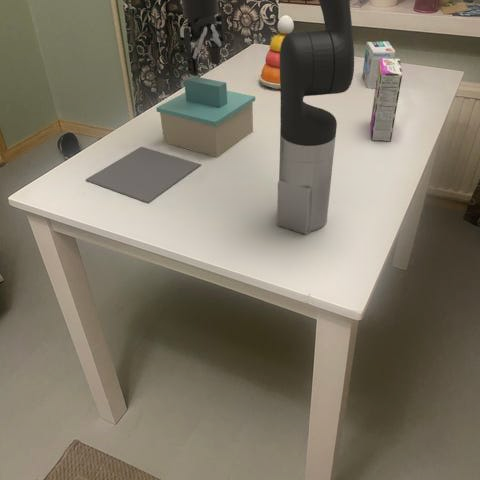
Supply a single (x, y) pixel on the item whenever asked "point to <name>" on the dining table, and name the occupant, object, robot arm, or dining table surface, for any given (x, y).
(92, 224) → the dining table surface
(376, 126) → the candy bar box
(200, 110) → the lid
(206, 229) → the dining table surface
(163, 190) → the rubber mat
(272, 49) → the stacking toy
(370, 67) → the light bulb box
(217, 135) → the storage box
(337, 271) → the dining table surface
